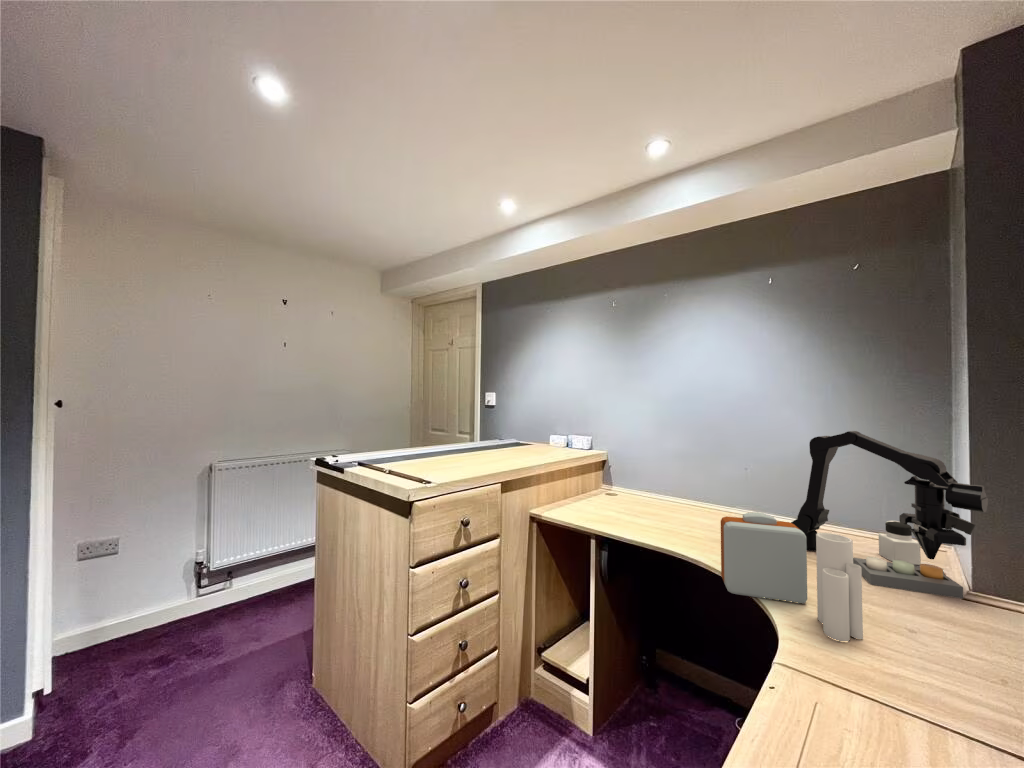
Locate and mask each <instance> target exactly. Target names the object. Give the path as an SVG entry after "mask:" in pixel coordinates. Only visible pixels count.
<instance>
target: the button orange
mask: <svg viewBox="0 0 1024 768" xmlns="http://www.w3.org/2000/svg"><path fill="white" fill-rule="evenodd" d="M919 566H920V574H921V575H923V576H924V577H927V578H934V579H941V580H943V574H944V569H943V568H942V567H940V566H937V565H935V564H934V565H933V564H930V563H921V564H920V565H919Z"/></svg>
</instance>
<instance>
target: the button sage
mask: <svg viewBox="0 0 1024 768" xmlns="http://www.w3.org/2000/svg"><path fill="white" fill-rule="evenodd" d="M892 563H893V571H895V572H896V573H899V574H906V575H913V576H915V573H914V566H915V565H913V564H911V563H909V562H905V561H900V560H893V562H892Z"/></svg>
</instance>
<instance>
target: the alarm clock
mask: <svg viewBox="0 0 1024 768" xmlns="http://www.w3.org/2000/svg"><path fill="white" fill-rule="evenodd" d="M807 551H808V550H807V545H806V536H805V534H804V533H803V532H802V531H801V530H800V529H799V528H798V527H797V526H795V525H794V524H792V523H791V522H789V521H779V520H777V519H776V518H775V517H774V516H771V515H769V514H766V513H763V512H757V511H756V512H755V511H753V512H747V513H743V514H742V517H737V516H736V517H735V516H729V515H728V516H724V517H722V518H721V519H720V566H721V567H720V571H721V572H720V575H721V578H722V581H723V583H724V585H725V588H726V589H727V592H729V593H731V594H733V595H734V594H735V595H740V596H746V597H754V598H760V599H761V597H765V598H764V599H766V598H770V599H769V600H772V599H779V600H786V601H792V602H798V603H797V604H799V603H802V604H806V603H807V601H808V555H807V553H808V552H807ZM779 600H778V601H779ZM792 602H791V603H792Z"/></svg>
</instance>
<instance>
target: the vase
mask: <svg viewBox="0 0 1024 768" xmlns="http://www.w3.org/2000/svg"><path fill="white" fill-rule="evenodd" d="M853 544H854V543H853V539H851V538H850V537H847V536H844V535H841V534H837V533H831V532H817V534H816V551H815V553H816V597H817V598H816V599H817V601H816V602H817V603H816V604H817V611H816V612H817V621H818V620H819V621H820V622H821V623H823V625H822V627H823V628H822V629H823V630H822V631H824V632H823V634H824V633H825V634H826V635H827V636H829V637H831V638H833V639H836V640H839V641H849V640H850V639H851V637H850V636H852V637H854V638H857V639H863V640H864V625H863V621H864V620H863V618H864V617H863V584H862V583H863V576H862V569H861V566H859V565H856V564H853V558H854V545H853ZM819 621H818V622H819ZM820 622H819V623H820ZM821 623H820V624H821ZM825 634H824V635H825ZM826 635H825V636H826ZM827 636H826V637H827ZM850 641H851V640H850ZM850 641H849V642H850Z"/></svg>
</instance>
